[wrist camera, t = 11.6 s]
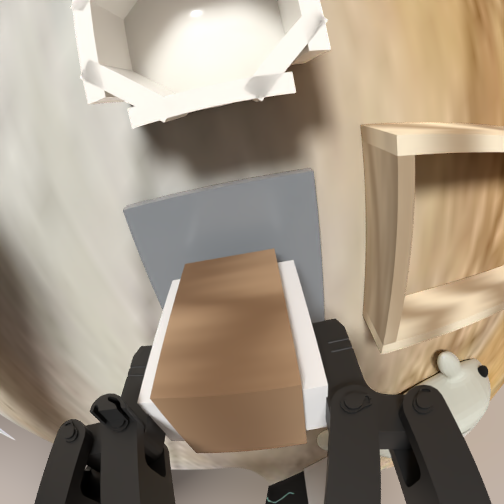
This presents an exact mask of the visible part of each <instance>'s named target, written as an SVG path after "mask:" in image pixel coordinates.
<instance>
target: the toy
mask: <svg viewBox="0 0 504 504" xmlns="http://www.w3.org/2000/svg"><path fill="white" fill-rule="evenodd" d="M437 364H438V368H439V370H440V371H441V372H440V373H438V374H436V375H434V376H432V377H431V378H429V379H427V380H425V381H423V382H421V383H419V384H418V385H416V386H419V385H430V386H432V387H434V388H436V389H438V391H439V392H440V393H441V394H442V396H443V398H444V399H445V401H446V403H447V405H448V407H449V409H450V411H451V413H452V415H453V417H454V419H455V421H456V423H457V425H458V427H459V429H460V431H461V433H462V435H463V437H465V435H467V434H468V433H469V432H470V431H471V430H472V429H473V428H474V427H475V425H476V424H477V423H478V421H479V420H480V419H481V417H482V416H483V414H484V413H485V411H486V410H487V407H488V404H489V401H490V393H491V389H490V382H489V378H488V376H487V375H488V369H487V367H486V366H483V365H482V364H481V363H480V362H479V361H478V360H477V359H470V360H466V361H462V362H459V359H458V358H457V357H456V356H455V355H454V354H453V353H451V352H449V351H444V352H442V353H440V354H439V356H438V359H437ZM414 387H415V386H414ZM411 389H412V388H411ZM408 391H409V390H408ZM408 391H407V392H408ZM407 392H405V393H404V394H403V395H405V394H406V393H407ZM328 436H329V433H328V430H326V431H323V432H321V433H320V434H319V435H318V437H317V443H318V445H319V447H320V448H322V449H324V450H326V451H328ZM380 456H383V457H387V458H391V455H390V452H389V449H380Z"/></svg>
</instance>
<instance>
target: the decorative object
mask: <svg viewBox="0 0 504 504" xmlns="http://www.w3.org/2000/svg"><path fill="white" fill-rule="evenodd" d="M326 472H327V457H326V458H324V459H322V460H320V461H318V462H316V463H314V464H312V465H310V466H308V467H306V468H304V471H303V472H301V473H299V474H297V475H294V476H292V477H290V478H288V479H285V480H283V481H281V482H278V483H276V484H273V485H271V486H269V488H268V493H267V499H266V504H324V497H325V485H326Z"/></svg>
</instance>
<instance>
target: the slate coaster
mask: <svg viewBox="0 0 504 504" xmlns="http://www.w3.org/2000/svg"><path fill="white" fill-rule="evenodd" d="M123 212H124V215H125V218H126V220H127V223H128V226H129V229H130V231H131V234H132V237H133V239H134V242H135V245H136V247H137V250H138V252H139V255H140V257H141V260H142V262H143V265H144V267H145V270H146V272H147V275H148V277H149V279H150V282H151V284H152V287H153V289H154V291H155V293H156V296H157V298H158V300H159V302H160V305H161V307H162V309H164V306H165V302H166V299H167V296H168V293H169V290H170V287H171V284H172V281H173V280H178V279H181V276H182V272H183V269H184V265H185V264H187V263H193V262H199V261H204V260H210V259H216V258H222V257H227V256H233V255H239V254H245V253H251V252H256V251H262V250H268V249H275V254H276V259H277V263H279V262H284V261H290V260H294V264H295V267H296V270H297V274H298V277H299V281H300V284H301V287H302V291H303V294H304V298H305V301H306V305H307V308H308V312H309V316H310V319H311V323H316V322H321V321H325V320H324V294H323V275H322V259H321V245H320V232H319V220H318V209H317V199H316V190H315V181H314V172H313V170H312V169H311V168H307V169H300V170H293V171H287V172H281V173H275V174H269V175H263V176H258V177H252V178H247V179H241V180H236V181H231V182H226V183H221V184H216V185H211V186H207V187H202V188H197V189H193V190H188V191H184V192H180V193H175V194H171V195H167V196H163V197H159V198H155V199H151V200H147V201H143V202H139V203H135V204H131V205H127V206H126V207H125V208H124V209H123Z"/></svg>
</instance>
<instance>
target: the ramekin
mask: <svg viewBox="0 0 504 504" xmlns="http://www.w3.org/2000/svg"><path fill="white" fill-rule="evenodd" d="M70 8H72V9H73V17H74V26H75V35H76V42H77V49H78V55H79V61H80V67H81V73H82V74H81V76H80V79H82V80H83V83H84V88H85V93H86V98H87V102H88V105H90V104H100V103H111V102H124V101H125V102H127V103H129V104H131V105H133V106H134V107H131V108H128V109H127V110H128V114H129V118H130V122H131V126H132V129H133V128H136V127H140V126H143V125H146V124H150V123H153V122H156V121H162V122H164V123H165V122H168V121H171V120H175V119H178V118H181V117H185V116H187V114H188V113H190V112H194V111H198V110H202V109H208V108H215V107H220V106H224V105H228V104H232V103H235V102H240V101H246V100H253V101H255V102H257V101H262V100H263V99H264V98H265V97H271V96H278V95H284V94H291V93H296V89H295V84H294V78H293V73H292V72H285V71H286V69H287V68H288V67H289V66H290V65H294V64H304V63H306V62H308V61H310V60H312V59H314V58H316V57H318V56H320V55H321V54H323V53H325V52H327V51H329V50H331V47H330V42H329V38H328V33H327V28H326V24H325V23H326V22H327V21H328V19H326V18H325V17H324V15H323V11H322V7H321V3H320V0H72V5H71V6H70Z"/></svg>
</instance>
